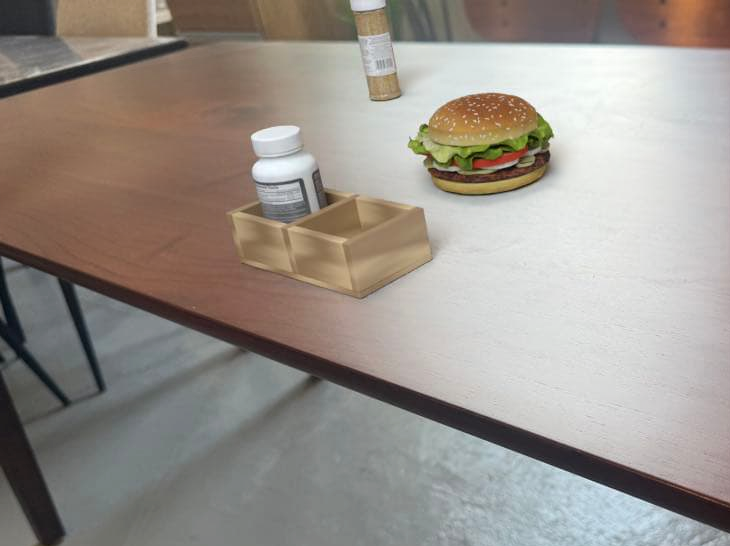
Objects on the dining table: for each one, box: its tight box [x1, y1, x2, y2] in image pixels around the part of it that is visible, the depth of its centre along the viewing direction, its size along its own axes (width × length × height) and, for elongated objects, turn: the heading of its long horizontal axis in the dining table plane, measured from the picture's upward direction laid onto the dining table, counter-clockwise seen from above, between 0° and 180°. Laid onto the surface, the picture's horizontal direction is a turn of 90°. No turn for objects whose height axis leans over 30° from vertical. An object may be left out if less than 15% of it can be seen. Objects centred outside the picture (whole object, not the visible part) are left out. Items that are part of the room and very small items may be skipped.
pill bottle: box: [250, 125, 328, 224], centre depth 72 cm, size 5×5×10 cm
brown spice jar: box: [349, 0, 402, 101], centre depth 117 cm, size 5×5×14 cm
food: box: [407, 91, 555, 195], centre depth 85 cm, size 14×14×8 cm
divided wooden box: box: [225, 186, 433, 300], centre depth 72 cm, size 15×8×4 cm, turn 53°
